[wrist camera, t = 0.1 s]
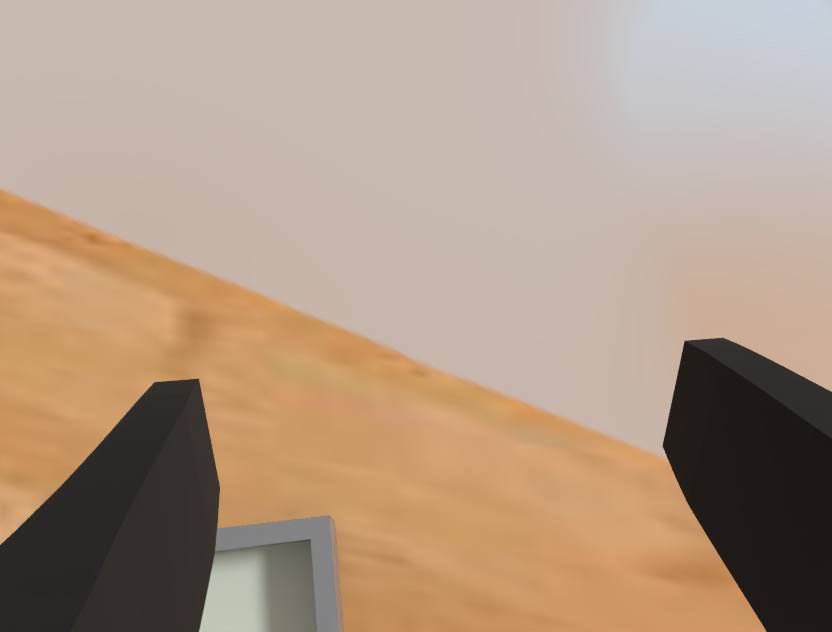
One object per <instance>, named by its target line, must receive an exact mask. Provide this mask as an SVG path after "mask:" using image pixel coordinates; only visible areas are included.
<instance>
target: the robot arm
mask: <svg viewBox="0 0 832 632" xmlns="http://www.w3.org/2000/svg"><path fill="white" fill-rule="evenodd" d="M663 448H664V450H665V453H666V455H667V458H668V460H669V462H670V465H671V467H672V470H673V472H674V474H675V477H676V479H677V481H678V483H679V486H680V488H681V490H682V492H683V494H684V496H685V499H686V501H687V503H688V505H689V506H690V508H691V510H692V511H693V513H694V515H695V516H696V518H697V520H698V521H699V523H700V525H701V526H702V528H703V530H704V531H705V533H706V535H707V536H708V538H709V539H710V541H711V543H712V544H713V546H714V548H715V549H716V551H717V552H718V554H719V556H720V557H721V559H722V560H723V562H724V564H725V565H726V567H727V568H728V570H729V572H730V573H731V575H732V576H733V578H734V580H735V581H736V583H737V584H738V586H739V588H740V589H741V591H742V593H743V594H744V596H745V597H746V599H747V601H748V602H749V604H750V605H751V607H752V609H753V610H754V612H755V613H756V615H757V617H758V618H759V620H760V621H761V623H762V625H763V626H764V628H765V629H766V631H767V632H832V392H831V391H829V390H827V389H825V388H823V387H821V386H819V385H817V384H816V383H813V382H812V381H810V380H808V379H806V378H804V377H802V376H800V375H798V374H796V373H795V372H793V371H791V370H789V369H787V368H785V367H783V366H781V365H779V364H777V363H775V362H773V361H772V360H770V359H767V358H766V357H764V356H761V355H759V354H757V353H756V352H754V351H752V350H749V349H747V348H745V347H743V346H741V345H739V344H737V343H734V342H731V341H729V340H727V339H724V338H715V339H703V340H691V341H685V342H684V347H683V352H682V357H681V361H680V366H679V371H678V376H677V380H676V385H675V390H674V395H673V399H672V404H671V409H670V413H669V418H668V423H667V428H666V433H665V437H664V442H663ZM219 493H220V486H219V480H218V475H217V470H216V465H215V460H214V455H213V449H212V444H211V439H210V434H209V429H208V424H207V419H206V413H205V408H204V403H203V398H202V393H201V388H200V382H199V379H190V380H178V381H165V382H154V384H153V385H152V386H151V387H150V388H149V389H148V390H147V391H146V392H145V393H144V394H143V395H142V397H141V398H140V399H139V400H138V401H137V402H136V403H135V404H134V406H133V407H132V408H131V409H130V410H129V411H128V412H127V414H126V415H125V416H124V417H123V418H122V419H121V420H120V422H119V423H118V424H117V425H116V426H115V427H114V428H113V430H112V431H111V432H110V433H109V434H108V435H107V436H106V438H105V439H104V440H103V441H102V442H101V443H100V444H99V445H98V447H97V448H96V449H95V450H94V451H93V452H92V453H91V454H90V455H89V456H88V457H87V459H86V460H85V461H84V462H83V463H82V464H81V465H80V466H79V467H78V468H77V469H76V470H75V472H74V473H73V474H72V475H71V476H70V477H69V478H68V479H67V480H66V481H65V482H64V483H63V484H62V485H61V487H60V488H59V489H58V490H57V491H56V492H55V493H54V494H53V495H52V496H51V497H49V498H48V499H47V500H46V501H45V502H44V503H43V504H42V505H41V506H40V507H39V508H38V509H37V510H36V511H35V512H34V513H33V514H32V515H31V516H30V517H29V518H28V519H27V520H26V521H25V522H24V523H23V524H22V525H21V526H20V527H19V528H18V529H17V530H16V531H15V532H14V533H13V534H12V535H11V536H10V537H9V538H7V539H6V540H5V541H4V542H3V543H2V544H1V545H0V632H199V630H200V625H201V620H202V615H203V611H204V606H205V601H206V596H207V591H208V586H209V581H210V576H211V571H212V565H213V560H214V555H215V547H216V535H217V523H218V508H219Z"/></svg>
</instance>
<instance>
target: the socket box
mask: <svg viewBox="0 0 832 632" xmlns="http://www.w3.org/2000/svg"><path fill="white" fill-rule="evenodd" d="M199 632H343V619H342V607H341V594H340V582H339V570H338V557H337V545H336V532H335V521H334V520H333V519H332V518H331V516H321V517H313V518H305V519H296V520H288V521H279V522H271V523H263V524H254V525H246V526H237V527H229V528H220V529H217V535H216V547H215V555H214V560H213V565H212V571H211V576H210V581H209V586H208V591H207V596H206V601H205V606H204V611H203V615H202V620H201V625H200V630H199Z"/></svg>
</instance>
